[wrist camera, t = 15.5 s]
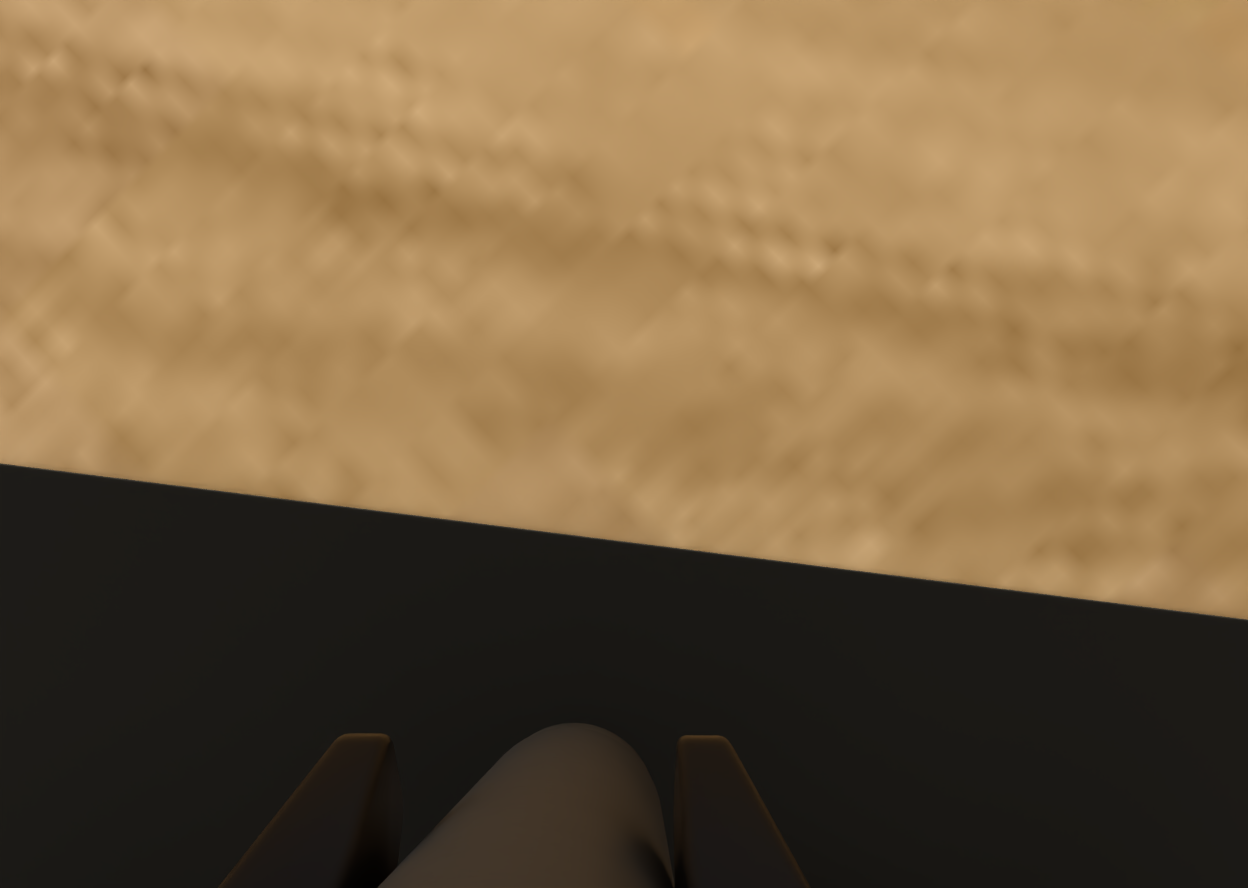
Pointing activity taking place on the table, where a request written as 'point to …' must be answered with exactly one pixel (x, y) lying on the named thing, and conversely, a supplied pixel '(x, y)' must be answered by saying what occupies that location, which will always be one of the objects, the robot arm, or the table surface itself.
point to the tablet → (585, 692)
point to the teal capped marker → (550, 821)
